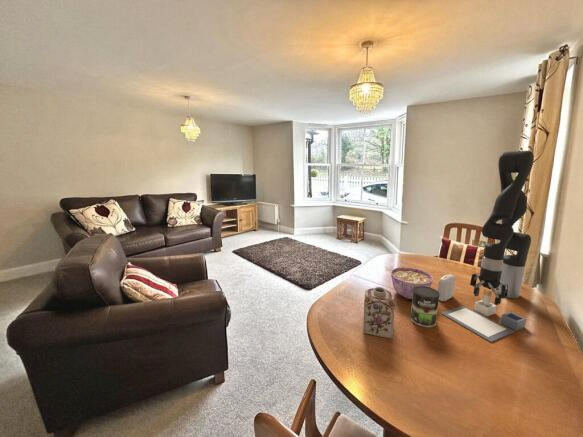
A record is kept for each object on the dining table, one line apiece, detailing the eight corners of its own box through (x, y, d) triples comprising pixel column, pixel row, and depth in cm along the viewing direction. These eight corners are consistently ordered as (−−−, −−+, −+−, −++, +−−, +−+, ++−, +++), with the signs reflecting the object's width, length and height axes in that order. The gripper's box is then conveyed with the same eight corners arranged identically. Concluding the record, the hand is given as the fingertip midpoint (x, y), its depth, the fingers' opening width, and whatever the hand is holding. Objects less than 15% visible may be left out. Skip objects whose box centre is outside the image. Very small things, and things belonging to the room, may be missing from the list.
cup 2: (508, 319, 112) (509, 311, 111) (524, 327, 106) (526, 318, 105) (500, 323, 109) (501, 314, 109) (516, 331, 104) (517, 322, 103)
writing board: (463, 306, 122) (463, 305, 122) (514, 332, 104) (514, 330, 103) (441, 313, 117) (441, 312, 117) (491, 342, 98) (491, 341, 98)
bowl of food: (388, 301, 128) (390, 280, 126) (389, 283, 146) (390, 265, 144) (433, 308, 121) (435, 286, 118) (428, 289, 139) (430, 269, 137)
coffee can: (438, 329, 106) (441, 299, 103) (411, 324, 110) (414, 295, 107) (434, 315, 116) (437, 287, 113) (409, 311, 119) (411, 284, 116)
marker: (483, 308, 120) (486, 289, 117) (490, 311, 117) (493, 291, 115) (479, 309, 118) (482, 290, 116) (486, 313, 116) (489, 293, 114)
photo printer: (445, 293, 135) (448, 271, 132) (454, 296, 131) (457, 274, 129) (435, 299, 129) (437, 276, 127) (444, 302, 126) (447, 279, 123)
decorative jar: (391, 322, 112) (394, 284, 108) (393, 339, 101) (396, 298, 97) (363, 317, 116) (365, 281, 112) (362, 333, 105) (363, 294, 101)
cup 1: (481, 307, 122) (483, 299, 121) (495, 313, 116) (496, 305, 115) (474, 309, 119) (475, 302, 119) (487, 316, 114) (488, 308, 113)
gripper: (515, 271, 108) (508, 305, 111) (480, 260, 121) (475, 291, 124) (504, 274, 105) (498, 309, 109) (469, 262, 118) (465, 294, 121)
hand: (486, 299), depth 116 cm, fingers open, 8 cm apart
